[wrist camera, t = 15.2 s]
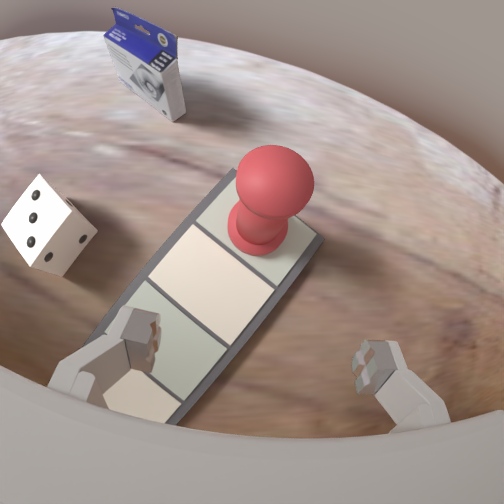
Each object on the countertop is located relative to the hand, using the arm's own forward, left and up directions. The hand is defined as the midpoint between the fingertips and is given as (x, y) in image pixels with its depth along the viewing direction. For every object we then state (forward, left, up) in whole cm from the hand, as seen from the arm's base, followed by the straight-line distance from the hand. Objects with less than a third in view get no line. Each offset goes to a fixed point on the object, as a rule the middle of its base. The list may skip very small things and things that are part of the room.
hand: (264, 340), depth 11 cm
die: (-5, +19, -15) cm, 25 cm away
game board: (-2, +4, -15) cm, 16 cm away
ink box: (+13, +24, -15) cm, 32 cm away
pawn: (+8, +4, -14) cm, 17 cm away
